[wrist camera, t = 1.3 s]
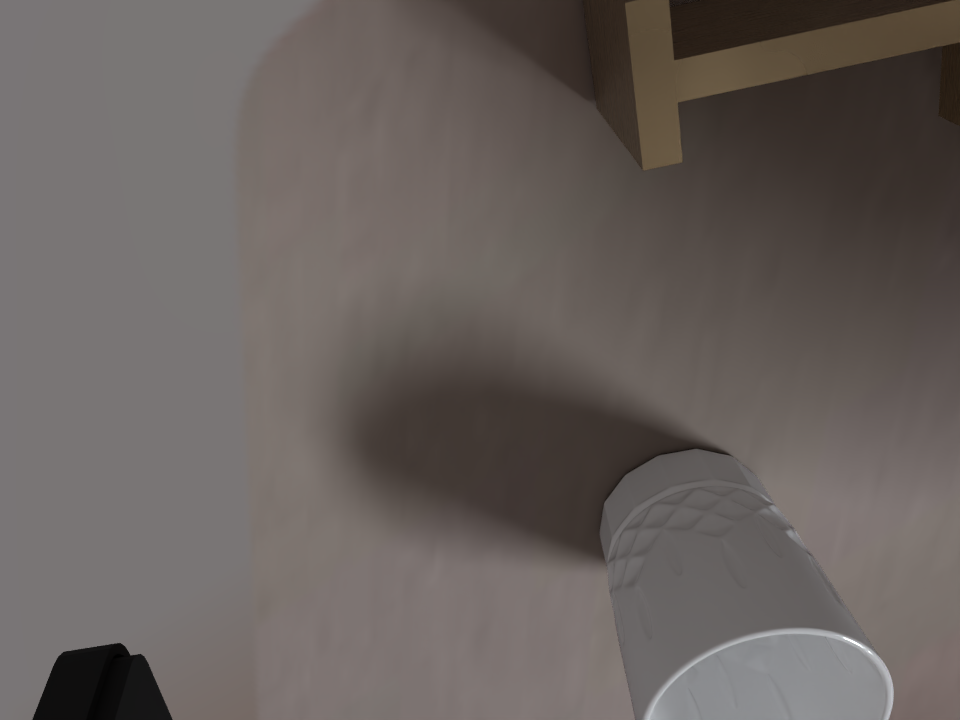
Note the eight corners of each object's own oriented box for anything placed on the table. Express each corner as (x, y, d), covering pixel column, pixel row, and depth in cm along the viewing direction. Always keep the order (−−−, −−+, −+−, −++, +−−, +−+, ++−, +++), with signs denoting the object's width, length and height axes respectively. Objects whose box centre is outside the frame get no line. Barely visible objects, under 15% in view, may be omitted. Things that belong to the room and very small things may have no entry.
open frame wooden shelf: (1130, -201, 25) (1334, -217, 19) (1095, 44, 28) (1263, 90, 23) (572, -78, 25) (618, -59, 20) (602, 149, 29) (648, 219, 23)
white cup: (557, 478, 35) (606, 683, 26) (752, 405, 34) (870, 594, 25) (619, 612, 39) (680, 830, 30) (796, 550, 38) (912, 758, 29)
